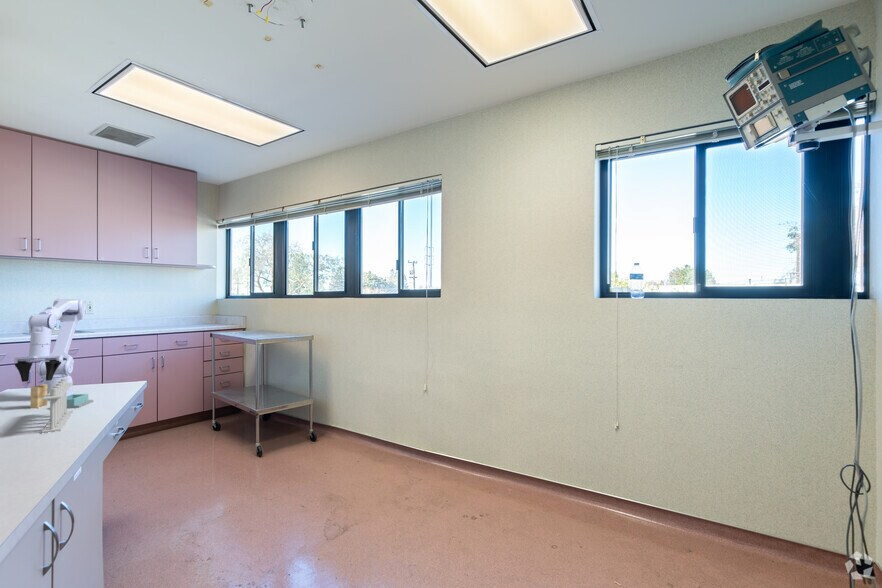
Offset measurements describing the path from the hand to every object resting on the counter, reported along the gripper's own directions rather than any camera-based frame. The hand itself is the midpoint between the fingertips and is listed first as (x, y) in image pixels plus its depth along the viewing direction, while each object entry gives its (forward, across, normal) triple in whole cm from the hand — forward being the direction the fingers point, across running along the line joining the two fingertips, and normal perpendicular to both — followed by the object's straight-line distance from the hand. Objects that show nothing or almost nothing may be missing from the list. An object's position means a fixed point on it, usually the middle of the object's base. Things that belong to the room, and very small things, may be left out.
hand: (37, 380), depth 154 cm
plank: (+10, 0, +2) cm, 10 cm away
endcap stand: (+10, +11, +2) cm, 15 cm away
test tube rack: (+14, +20, -20) cm, 32 cm away
